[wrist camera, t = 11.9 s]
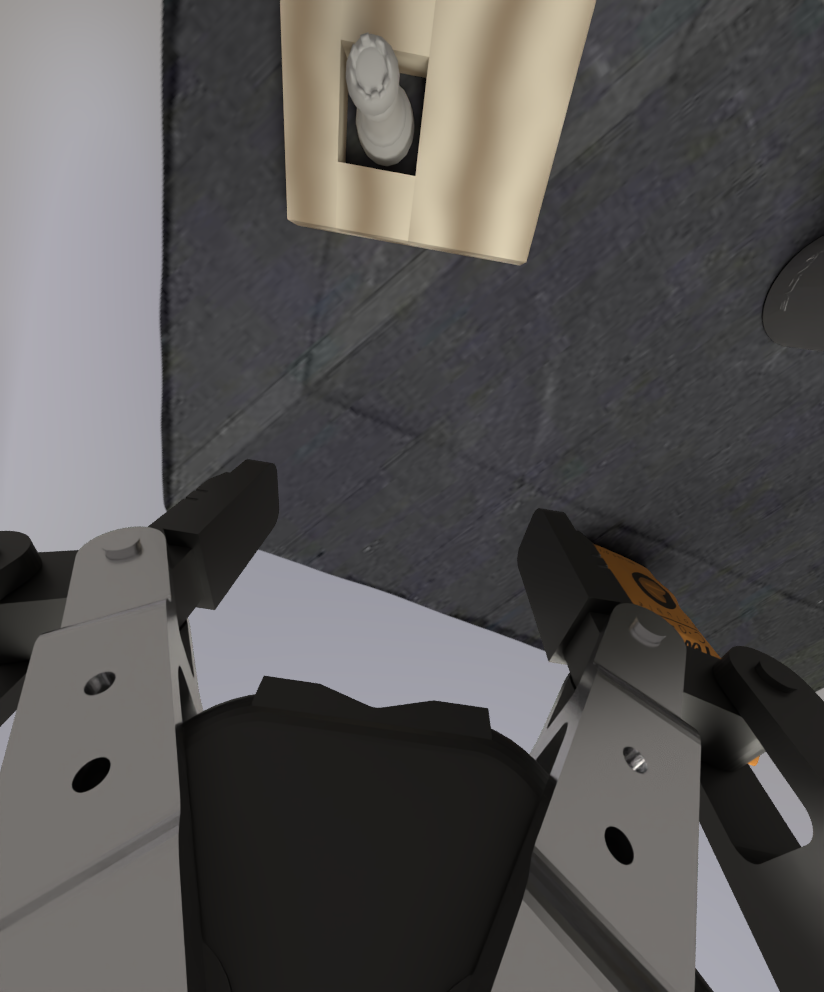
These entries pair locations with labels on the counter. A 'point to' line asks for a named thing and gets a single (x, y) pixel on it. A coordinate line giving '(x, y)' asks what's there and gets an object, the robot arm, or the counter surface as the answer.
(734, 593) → the counter surface
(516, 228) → the socket block
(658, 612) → the coffee package
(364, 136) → the rook chess piece
